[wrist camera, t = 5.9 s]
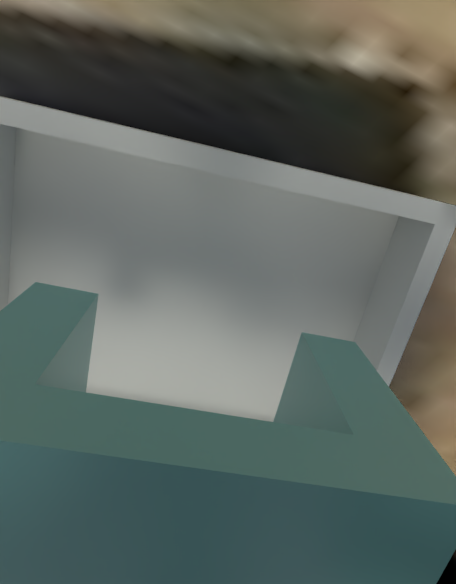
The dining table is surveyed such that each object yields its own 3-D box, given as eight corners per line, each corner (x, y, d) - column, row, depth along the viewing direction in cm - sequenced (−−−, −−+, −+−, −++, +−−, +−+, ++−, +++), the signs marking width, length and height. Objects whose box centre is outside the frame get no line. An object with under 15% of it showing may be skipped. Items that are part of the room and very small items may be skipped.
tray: (324, 438, 17) (345, 490, 14) (-6, 387, 15) (-48, 436, 13) (416, 195, 14) (463, 207, 11) (5, 97, 12) (-48, 85, 10)
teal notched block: (302, 485, 10) (365, 708, 6) (23, 446, 9) (-114, 675, 5) (355, 342, 9) (479, 507, 5) (35, 281, 8) (-135, 421, 4)
